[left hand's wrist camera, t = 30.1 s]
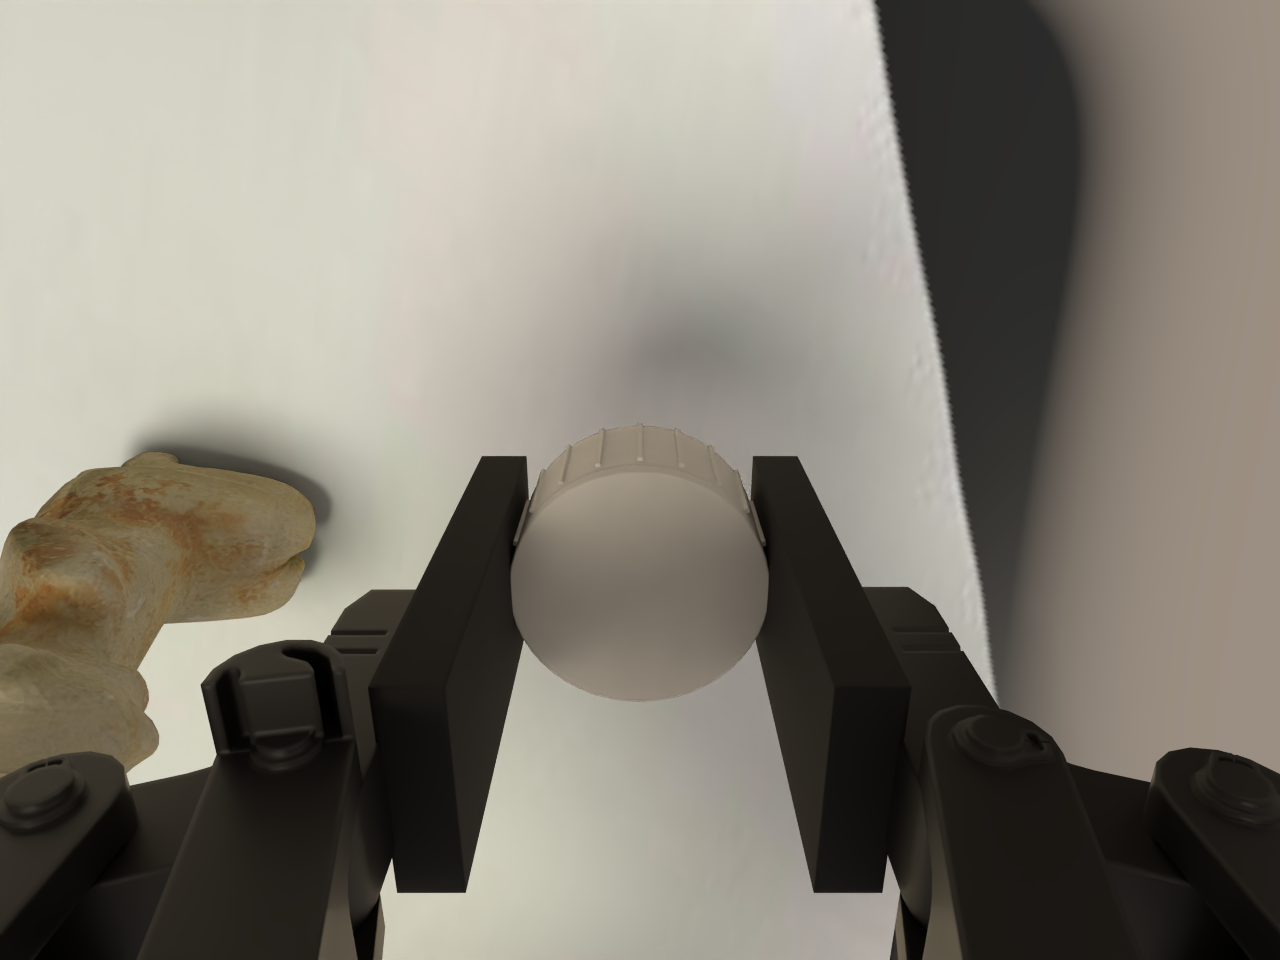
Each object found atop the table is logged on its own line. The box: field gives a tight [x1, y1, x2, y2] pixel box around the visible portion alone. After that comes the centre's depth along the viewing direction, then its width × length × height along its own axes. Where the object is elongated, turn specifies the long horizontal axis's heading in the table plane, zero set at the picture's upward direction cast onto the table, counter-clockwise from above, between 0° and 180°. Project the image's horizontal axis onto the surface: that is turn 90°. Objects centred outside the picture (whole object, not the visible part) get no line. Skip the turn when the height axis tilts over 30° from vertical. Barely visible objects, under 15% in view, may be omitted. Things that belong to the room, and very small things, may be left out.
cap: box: [510, 423, 769, 701], centre depth 14 cm, size 4×4×2 cm
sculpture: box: [0, 452, 316, 778], centre depth 23 cm, size 6×7×15 cm
